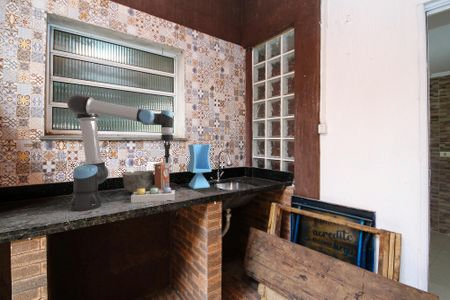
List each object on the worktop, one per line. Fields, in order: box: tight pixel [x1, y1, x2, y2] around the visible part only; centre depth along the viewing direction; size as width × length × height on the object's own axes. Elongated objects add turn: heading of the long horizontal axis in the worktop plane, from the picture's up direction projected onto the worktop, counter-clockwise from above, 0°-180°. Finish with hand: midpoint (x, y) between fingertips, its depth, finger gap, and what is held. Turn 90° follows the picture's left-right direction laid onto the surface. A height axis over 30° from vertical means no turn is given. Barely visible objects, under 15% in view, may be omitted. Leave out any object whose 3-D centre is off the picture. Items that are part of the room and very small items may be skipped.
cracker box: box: [154, 161, 170, 191], centre depth 166 cm, size 21×7×15 cm
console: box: [130, 189, 176, 204], centre depth 145 cm, size 26×12×4 cm, turn 103°
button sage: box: [149, 187, 158, 194], centre depth 145 cm, size 5×5×3 cm
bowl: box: [121, 170, 155, 194], centre depth 164 cm, size 22×22×15 cm
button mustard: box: [137, 188, 146, 195], centre depth 143 cm, size 5×5×3 cm
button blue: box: [163, 186, 172, 194], centre depth 147 cm, size 5×5×3 cm
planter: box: [186, 144, 212, 190], centre depth 186 cm, size 16×16×35 cm
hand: (167, 166), depth 147 cm, fingers open, 13 cm apart
